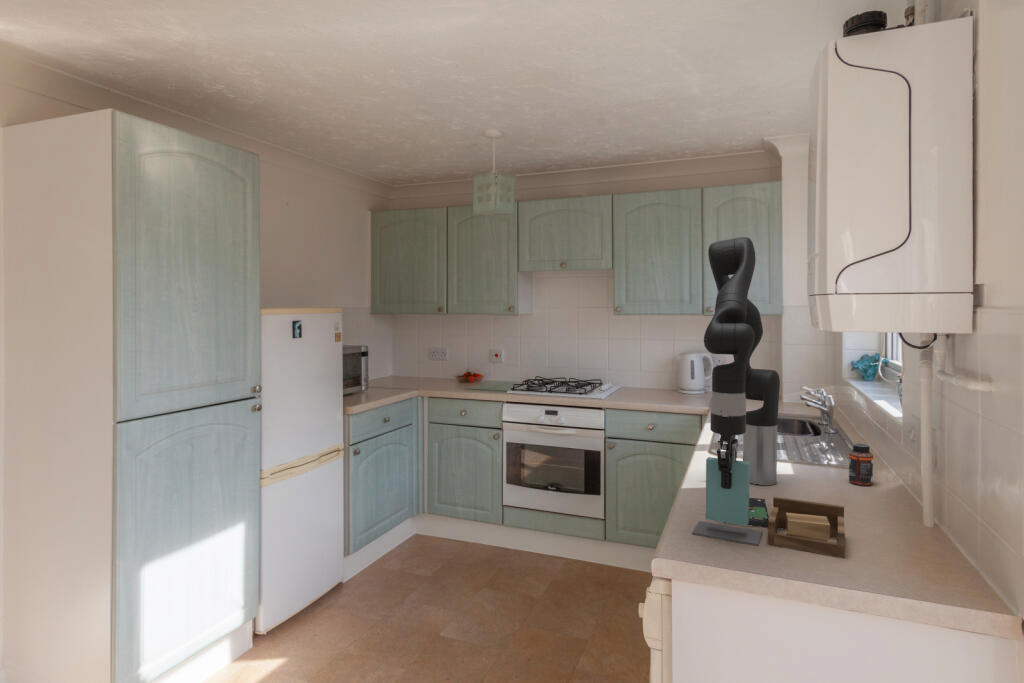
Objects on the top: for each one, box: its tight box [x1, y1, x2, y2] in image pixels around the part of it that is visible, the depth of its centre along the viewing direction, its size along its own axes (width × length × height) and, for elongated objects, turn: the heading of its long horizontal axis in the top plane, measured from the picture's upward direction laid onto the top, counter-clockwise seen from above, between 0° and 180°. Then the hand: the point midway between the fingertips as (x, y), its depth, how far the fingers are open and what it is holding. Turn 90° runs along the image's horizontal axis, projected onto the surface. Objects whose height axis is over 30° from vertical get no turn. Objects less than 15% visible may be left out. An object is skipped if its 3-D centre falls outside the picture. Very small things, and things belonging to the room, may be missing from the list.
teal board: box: [705, 456, 750, 527], centre depth 131 cm, size 2×9×14 cm, turn 60°
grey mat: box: [691, 520, 763, 547], centre depth 131 cm, size 8×14×1 cm, turn 61°
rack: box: [767, 496, 846, 558], centre depth 127 cm, size 12×14×7 cm
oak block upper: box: [786, 513, 831, 540], centre depth 125 cm, size 5×8×3 cm, turn 69°
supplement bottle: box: [848, 443, 874, 487], centre depth 166 cm, size 6×6×11 cm
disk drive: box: [724, 497, 770, 528], centre depth 143 cm, size 10×3×15 cm
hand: (727, 486), depth 131 cm, fingers closed on teal board, 2 cm apart
